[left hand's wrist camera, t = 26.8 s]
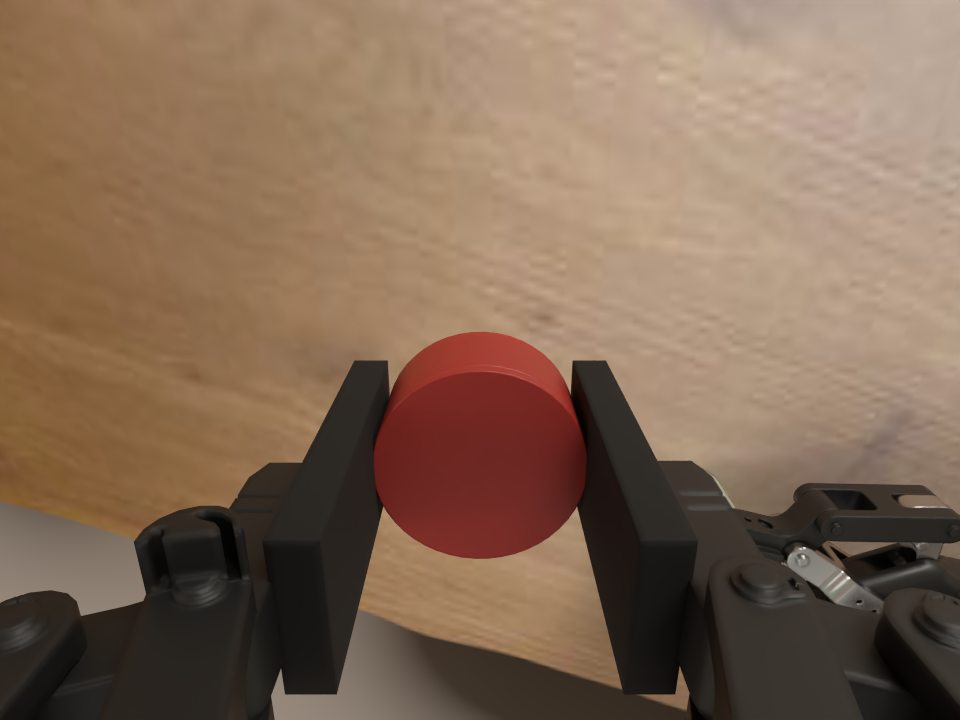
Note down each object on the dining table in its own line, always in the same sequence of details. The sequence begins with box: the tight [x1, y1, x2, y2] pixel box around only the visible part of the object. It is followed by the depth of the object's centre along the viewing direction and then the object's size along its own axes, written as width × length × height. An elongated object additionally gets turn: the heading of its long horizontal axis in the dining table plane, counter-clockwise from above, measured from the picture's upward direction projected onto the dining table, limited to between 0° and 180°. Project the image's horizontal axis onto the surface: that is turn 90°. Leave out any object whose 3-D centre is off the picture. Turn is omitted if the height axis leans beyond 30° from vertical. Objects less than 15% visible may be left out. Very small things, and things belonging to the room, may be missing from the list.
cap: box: [373, 332, 587, 559], centre depth 14 cm, size 4×4×2 cm
